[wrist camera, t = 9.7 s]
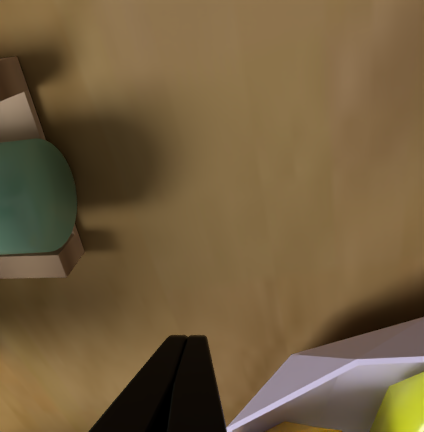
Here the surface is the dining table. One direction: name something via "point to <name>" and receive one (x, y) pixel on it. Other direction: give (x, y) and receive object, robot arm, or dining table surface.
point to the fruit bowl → (345, 387)
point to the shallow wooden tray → (22, 130)
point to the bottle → (35, 197)
